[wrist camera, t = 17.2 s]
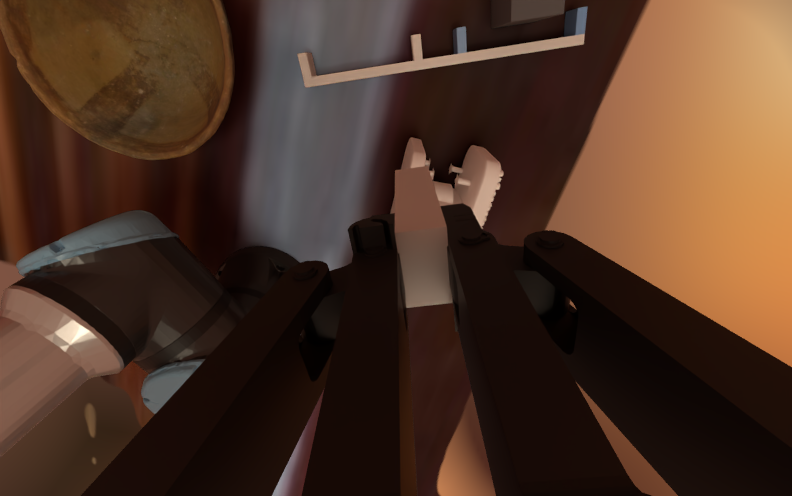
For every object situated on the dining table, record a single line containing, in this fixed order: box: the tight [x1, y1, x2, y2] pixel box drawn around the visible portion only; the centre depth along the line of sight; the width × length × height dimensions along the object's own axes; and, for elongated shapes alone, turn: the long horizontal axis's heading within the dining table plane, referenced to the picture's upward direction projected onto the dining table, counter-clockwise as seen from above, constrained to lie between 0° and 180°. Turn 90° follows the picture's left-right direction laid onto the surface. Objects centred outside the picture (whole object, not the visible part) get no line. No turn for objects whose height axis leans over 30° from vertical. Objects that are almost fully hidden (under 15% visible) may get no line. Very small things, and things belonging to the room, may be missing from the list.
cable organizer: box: [390, 137, 503, 228], centre depth 45 cm, size 15×11×12 cm
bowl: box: [0, 0, 235, 160], centre depth 37 cm, size 22×23×10 cm
